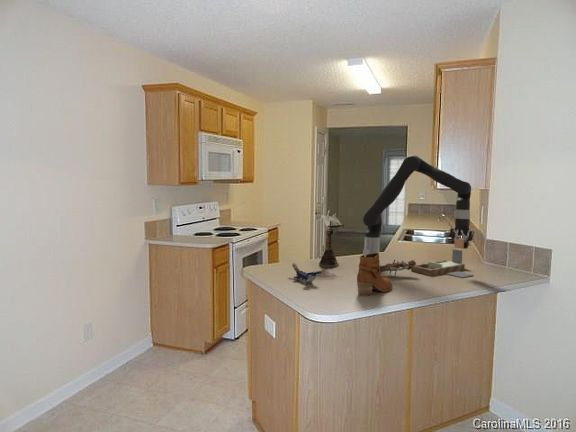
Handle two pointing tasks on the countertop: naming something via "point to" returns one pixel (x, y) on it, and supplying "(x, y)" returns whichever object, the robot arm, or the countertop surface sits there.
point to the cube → (459, 243)
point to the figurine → (397, 266)
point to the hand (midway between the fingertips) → (461, 247)
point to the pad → (459, 274)
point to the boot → (371, 276)
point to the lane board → (431, 271)
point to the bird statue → (329, 241)
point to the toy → (305, 275)
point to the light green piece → (455, 261)
